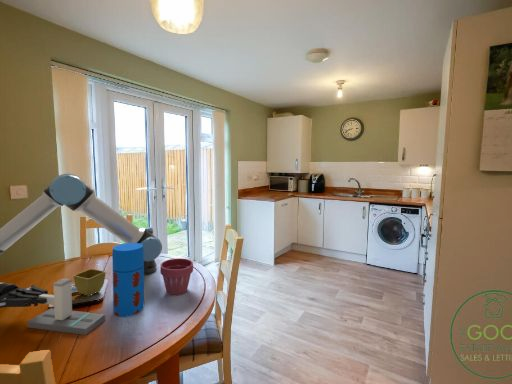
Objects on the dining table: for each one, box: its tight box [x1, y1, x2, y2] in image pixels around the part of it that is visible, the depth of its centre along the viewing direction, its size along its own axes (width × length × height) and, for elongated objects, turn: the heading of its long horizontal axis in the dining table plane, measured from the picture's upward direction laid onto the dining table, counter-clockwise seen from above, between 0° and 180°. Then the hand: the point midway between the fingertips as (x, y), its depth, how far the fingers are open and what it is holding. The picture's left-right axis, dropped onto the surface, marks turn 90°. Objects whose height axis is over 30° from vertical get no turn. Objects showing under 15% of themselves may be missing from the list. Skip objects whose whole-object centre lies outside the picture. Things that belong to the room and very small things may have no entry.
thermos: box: [111, 242, 145, 318], centre depth 103 cm, size 11×11×25 cm
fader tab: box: [52, 277, 73, 320], centre depth 93 cm, size 3×4×13 cm
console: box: [26, 307, 106, 336], centre depth 94 cm, size 22×9×2 cm, turn 82°
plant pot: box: [159, 257, 194, 296], centre depth 120 cm, size 14×14×13 cm
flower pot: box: [73, 268, 107, 297], centre depth 116 cm, size 9×9×9 cm
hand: (57, 300), depth 93 cm, fingers closed
